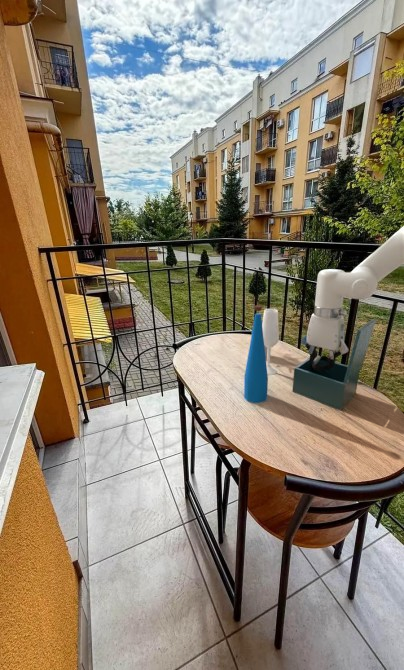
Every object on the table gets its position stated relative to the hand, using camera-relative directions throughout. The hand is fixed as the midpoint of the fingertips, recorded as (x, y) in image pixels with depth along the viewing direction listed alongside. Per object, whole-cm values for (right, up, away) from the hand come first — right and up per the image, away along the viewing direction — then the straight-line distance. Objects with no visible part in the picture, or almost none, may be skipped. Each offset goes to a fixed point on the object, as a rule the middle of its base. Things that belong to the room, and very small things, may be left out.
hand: (321, 365), depth 90 cm
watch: (0, -1, 0) cm, 1 cm away
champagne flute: (-13, -4, +18) cm, 22 cm away
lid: (+7, +5, -10) cm, 13 cm away
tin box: (+2, -9, +2) cm, 9 cm away
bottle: (-21, -10, +1) cm, 24 cm away
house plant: (-11, +1, +31) cm, 33 cm away
